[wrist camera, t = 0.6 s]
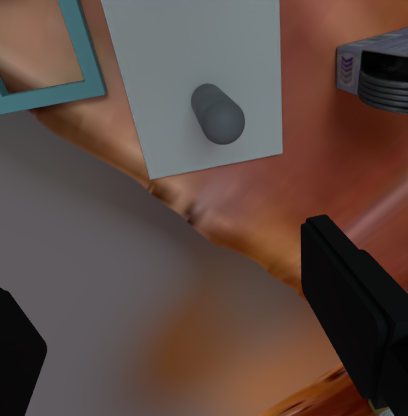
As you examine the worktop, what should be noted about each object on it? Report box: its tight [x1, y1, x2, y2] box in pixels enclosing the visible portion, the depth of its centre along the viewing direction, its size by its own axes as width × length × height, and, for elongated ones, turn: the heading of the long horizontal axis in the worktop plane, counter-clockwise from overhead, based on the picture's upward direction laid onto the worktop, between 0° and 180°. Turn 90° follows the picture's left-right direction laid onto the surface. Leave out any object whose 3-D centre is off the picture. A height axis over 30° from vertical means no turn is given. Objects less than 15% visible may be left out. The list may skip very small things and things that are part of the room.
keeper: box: [101, 0, 283, 180], centre depth 26 cm, size 22×16×12 cm
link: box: [0, 0, 108, 114], centre depth 25 cm, size 16×11×5 cm
